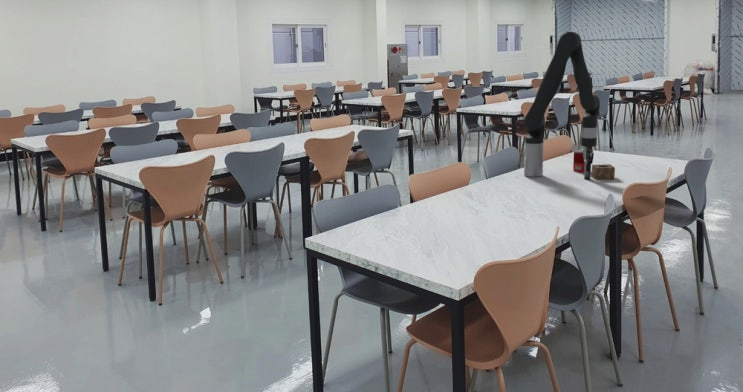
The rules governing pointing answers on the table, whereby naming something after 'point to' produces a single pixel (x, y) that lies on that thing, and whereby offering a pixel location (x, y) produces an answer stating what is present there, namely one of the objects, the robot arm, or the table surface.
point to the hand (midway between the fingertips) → (587, 170)
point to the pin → (586, 174)
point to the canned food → (578, 161)
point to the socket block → (603, 172)
